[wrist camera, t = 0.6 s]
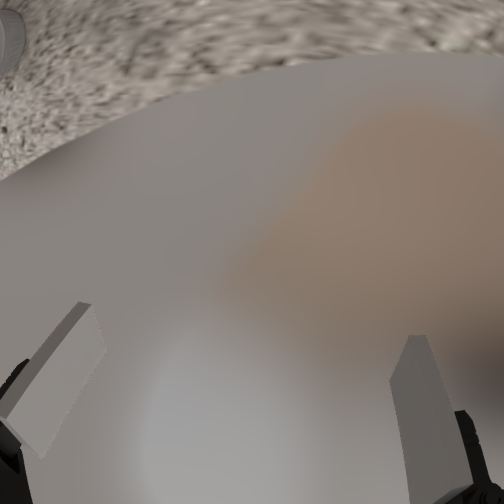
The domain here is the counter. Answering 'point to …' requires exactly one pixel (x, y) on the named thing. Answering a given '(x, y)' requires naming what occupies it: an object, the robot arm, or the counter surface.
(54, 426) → the robot arm
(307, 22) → the counter surface
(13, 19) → the ramekin
